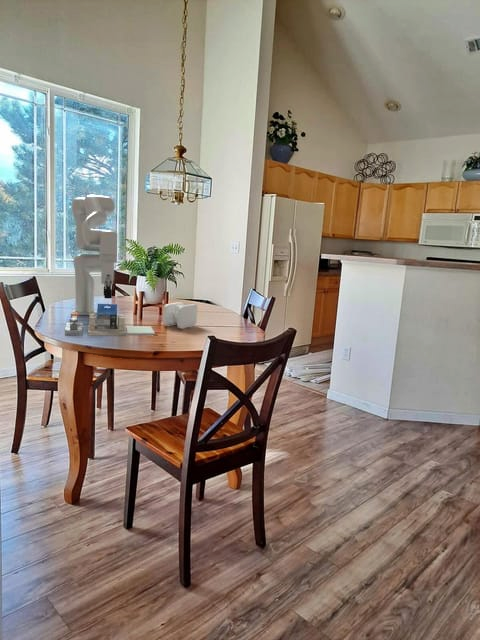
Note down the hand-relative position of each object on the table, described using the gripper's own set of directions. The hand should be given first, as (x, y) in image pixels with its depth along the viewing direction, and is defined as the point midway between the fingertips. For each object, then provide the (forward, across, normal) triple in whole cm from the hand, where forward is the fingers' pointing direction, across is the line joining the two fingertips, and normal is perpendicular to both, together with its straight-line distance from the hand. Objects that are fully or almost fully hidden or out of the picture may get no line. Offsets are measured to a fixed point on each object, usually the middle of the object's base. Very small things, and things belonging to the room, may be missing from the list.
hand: (107, 296), depth 203 cm
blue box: (+16, -1, 0) cm, 16 cm away
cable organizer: (+16, -12, +36) cm, 41 cm away
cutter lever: (+13, -2, -14) cm, 19 cm away
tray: (+16, -1, +15) cm, 22 cm away
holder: (+16, -1, 0) cm, 16 cm away
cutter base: (+16, -1, -14) cm, 21 cm away
